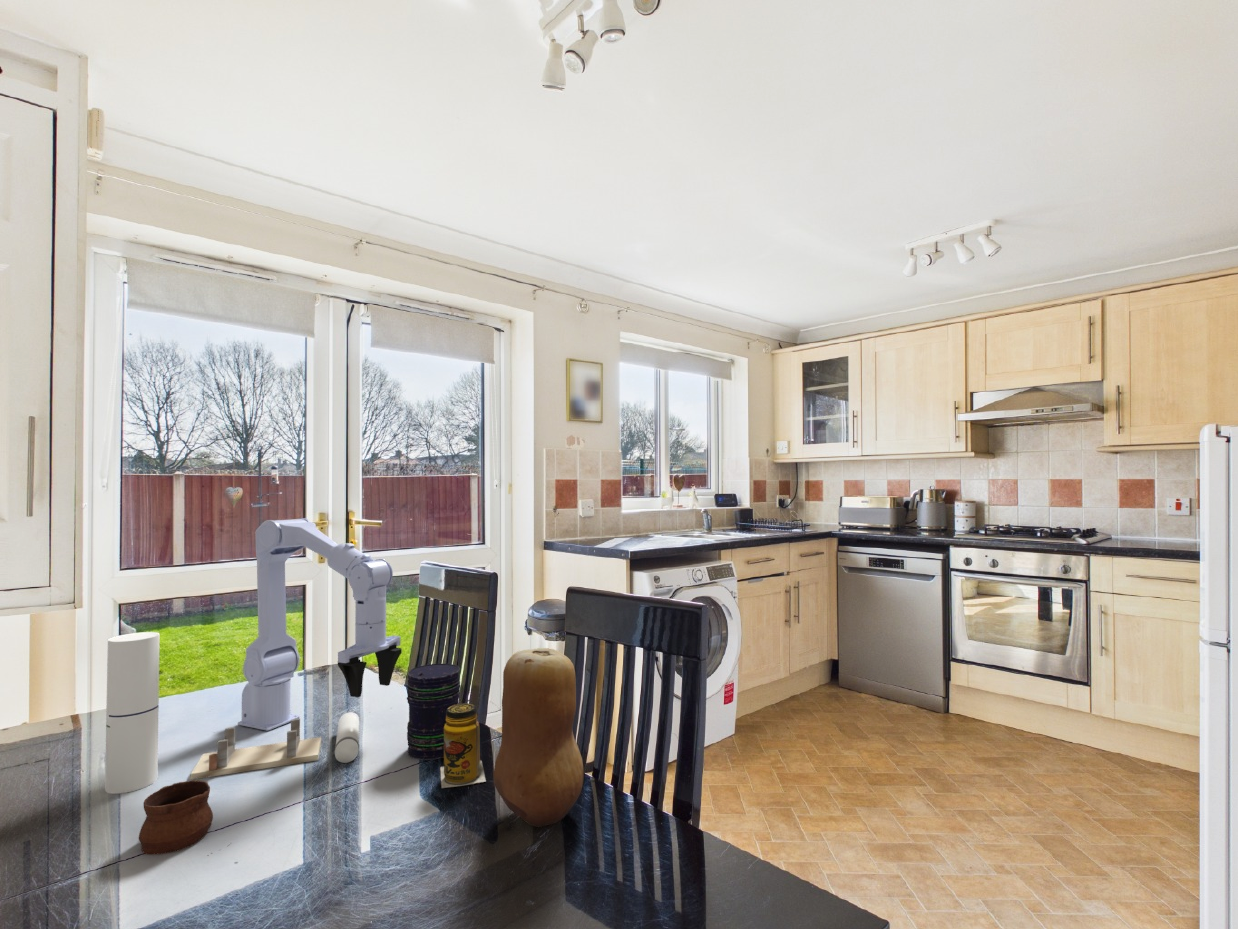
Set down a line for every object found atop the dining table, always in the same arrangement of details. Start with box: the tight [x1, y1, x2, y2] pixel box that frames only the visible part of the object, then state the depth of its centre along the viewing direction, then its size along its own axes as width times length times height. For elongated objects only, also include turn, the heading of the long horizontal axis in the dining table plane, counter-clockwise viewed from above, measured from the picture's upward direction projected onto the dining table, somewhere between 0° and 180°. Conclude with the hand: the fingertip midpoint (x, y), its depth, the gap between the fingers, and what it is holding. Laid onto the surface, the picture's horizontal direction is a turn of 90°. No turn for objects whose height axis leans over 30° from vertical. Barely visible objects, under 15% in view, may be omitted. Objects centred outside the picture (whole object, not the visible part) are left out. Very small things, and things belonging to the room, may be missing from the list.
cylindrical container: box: [104, 631, 161, 795], centre depth 109 cm, size 7×7×25 cm
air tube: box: [334, 711, 360, 764], centre depth 123 cm, size 16×4×4 cm, turn 22°
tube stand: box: [190, 718, 322, 781], centre depth 117 cm, size 20×9×6 cm, turn 112°
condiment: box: [439, 702, 487, 789], centre depth 111 cm, size 7×8×12 cm
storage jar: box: [406, 663, 461, 761], centre depth 122 cm, size 10×10×15 cm
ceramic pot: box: [138, 779, 231, 857], centre depth 91 cm, size 18×18×7 cm
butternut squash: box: [492, 647, 584, 828], centre depth 96 cm, size 14×13×25 cm
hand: (370, 690), depth 125 cm, fingers open, 7 cm apart
